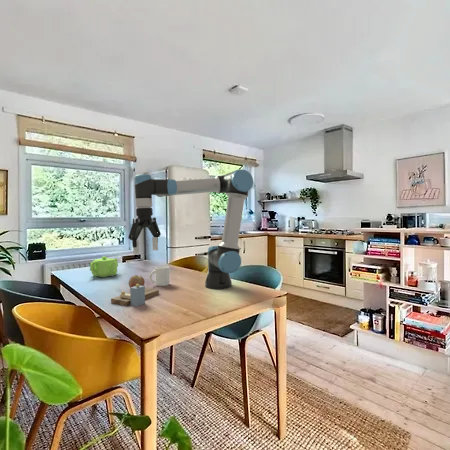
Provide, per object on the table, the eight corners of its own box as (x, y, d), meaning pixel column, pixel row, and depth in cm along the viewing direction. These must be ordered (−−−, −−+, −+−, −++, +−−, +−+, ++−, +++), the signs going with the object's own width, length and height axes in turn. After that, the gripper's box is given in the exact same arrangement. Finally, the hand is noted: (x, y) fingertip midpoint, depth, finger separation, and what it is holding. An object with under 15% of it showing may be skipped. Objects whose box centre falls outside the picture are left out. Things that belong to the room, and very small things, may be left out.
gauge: (144, 303, 134) (144, 283, 134) (137, 306, 130) (136, 285, 130) (125, 300, 140) (125, 281, 140) (117, 302, 135) (117, 283, 135)
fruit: (140, 292, 154) (140, 277, 153) (126, 291, 155) (126, 276, 155) (146, 288, 162) (146, 274, 161) (133, 287, 163) (133, 273, 163)
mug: (152, 288, 162) (151, 269, 162) (146, 285, 169) (146, 267, 169) (171, 285, 169) (171, 267, 169) (166, 282, 176) (165, 265, 176)
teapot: (127, 275, 199) (127, 256, 198) (101, 280, 182) (101, 259, 181) (110, 272, 208) (110, 254, 208) (84, 277, 192) (83, 257, 191)
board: (158, 293, 150) (158, 289, 150) (127, 305, 131) (126, 301, 131) (144, 291, 155) (143, 287, 155) (111, 302, 135) (110, 298, 135)
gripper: (154, 207, 151) (156, 248, 152) (118, 208, 128) (120, 255, 129) (166, 207, 148) (168, 248, 149) (131, 207, 125) (134, 256, 126)
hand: (146, 252), depth 139 cm, fingers open, 13 cm apart
